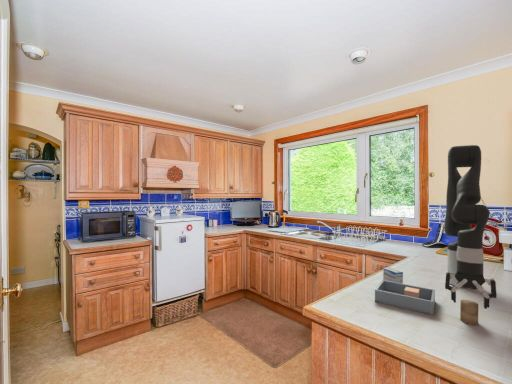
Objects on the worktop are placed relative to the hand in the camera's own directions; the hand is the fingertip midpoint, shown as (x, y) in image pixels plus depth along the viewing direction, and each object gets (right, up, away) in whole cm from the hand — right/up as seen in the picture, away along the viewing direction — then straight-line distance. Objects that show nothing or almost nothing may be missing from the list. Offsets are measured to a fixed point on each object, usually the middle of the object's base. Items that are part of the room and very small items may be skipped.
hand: (469, 304), depth 94 cm
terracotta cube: (-11, -6, +16) cm, 20 cm away
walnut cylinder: (0, -6, 0) cm, 6 cm away
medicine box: (-10, -6, +34) cm, 36 cm away
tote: (-13, -6, +18) cm, 23 cm away
